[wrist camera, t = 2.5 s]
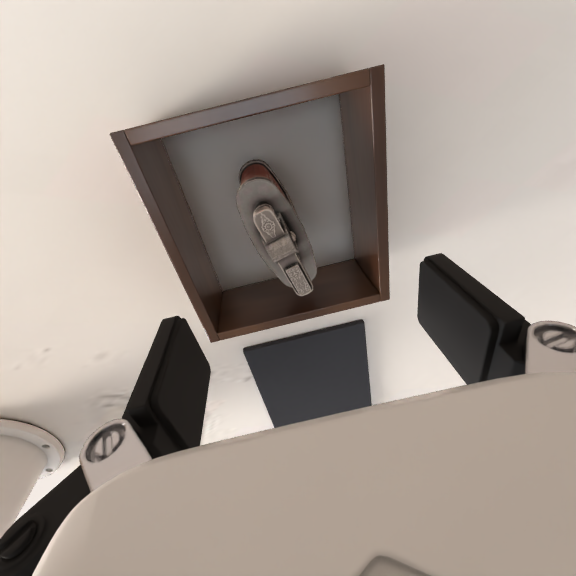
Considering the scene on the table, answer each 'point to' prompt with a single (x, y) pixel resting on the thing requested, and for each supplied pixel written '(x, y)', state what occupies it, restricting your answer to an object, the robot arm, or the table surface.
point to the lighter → (275, 227)
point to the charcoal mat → (312, 373)
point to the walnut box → (274, 293)
